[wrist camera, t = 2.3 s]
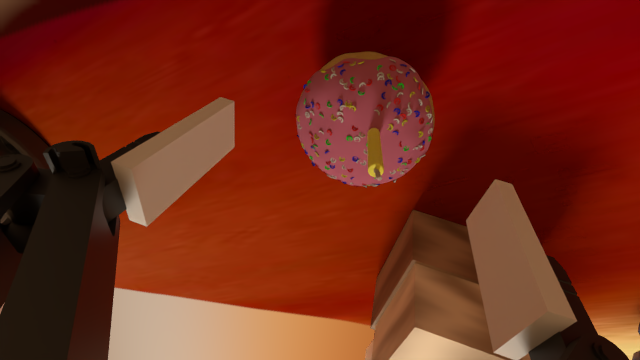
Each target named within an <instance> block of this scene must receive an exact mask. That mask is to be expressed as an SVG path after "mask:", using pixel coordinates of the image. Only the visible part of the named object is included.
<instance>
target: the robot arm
mask: <svg viewBox="0 0 640 360" xmlns="http://www.w3.org/2000/svg"><path fill="white" fill-rule="evenodd" d="M233 148H234V101H232V100H228V99H225V98H221V97H220V98H218V99H217V100H215V101H213V102H212V103H210V104H208V105H207V106H205V107H203V108H202V109H200V110H198V111H196V112H195V113H193V114H191V115H190V116H188V117H186V118H185V119H183V120H181V121H180V122H178V123H176V124H174V125H173V126H171V127H169V128H168V129H166V130H164V131H163V132H154V133H151V134H147V135H144V136H142V137H141V138H139V139H137V140H135V142H132V143H130V144H128V145H126V147H123V148H121V149H119V150H118V151H116V152H114V153H112V154H111V155H109V156H107V157H105V158H103V159H102V160H100V161H99V159H98V156H97V153H96V150H95V147H94V145H92V144H91V143H89V142H85V141H66V142H61V143H58V144H54V145H52V146H50V147H48V146H47V145H46V143H45V142H44V141H43V140H42V139H41V138H40V137H38V136H37V135H36V134H35V133H34V132H33V131H32V130H30V129H29V128H28V127H27V126H25V125H24V124H23V123H21V122H20V121H19V120H17V119H16V118H14V117H13V116H11V115H9V114H7V113H6V112H4V111H2V110H0V308H1V307H2V305H3V304H4V302H5V304H4V306H3V309H2V311H1V314H0V360H108V350H109V340H110V329H111V317H112V307H113V296H114V285H115V274H116V263H117V252H118V241H119V230H120V219H119V216H118V215H119V214H121V213H122V212H123V211H124V210H127V214H128V217H129V220H131V221H133V222H136V223H139V224H142V225H144V226H148V225H149V224H150V223H151V222H153V221H154V220H155V219H156V218H157V217H158V216H159V215H160V214H161V213H162V212H164V211H165V210H166V209H167V208H168V207H169V206H170V205H171V204H172V203H173V202H175V201H176V200H177V199H178V198H179V197H180V196H181V195H182V194H183V193H184V192H186V191H187V190H188V189H189V188H190V187H191V186H192V185H193V184H194V183H195V182H197V181H198V180H199V179H200V178H201V177H202V176H203V175H204V174H205V173H206V172H208V171H209V170H210V169H211V168H212V167H213V166H214V165H215V164H216V163H217V162H219V161H220V160H221V159H222V158H223V157H224V156H225V155H226V154H227V153H228V152H230V151H231V150H232V149H233ZM466 224H467V228H468V233H469V238H470V243H471V248H472V252H473V257H474V262H475V267H476V272H477V276H478V281H479V286H480V291H481V295H482V300H483V305H484V310H485V315H486V319H487V324H488V329H489V334H490V339H491V343H492V348H493V352H494V353H496V354H499V355H502V356H505V357H507V358H510V359H513V360H519V359H521V358H522V357H524V356H525V355H527V354H528V353H529V356H530V359H531V360H629V359H628V357H627V356H626V355H625V353H623V352H622V351H621V350H620V349H619V348H618V347H617V346H616V345H615V344H613V343H612V342H610V341H609V340H607V339H606V338H605V337H602V336H600V335H598V333H597V331H596V330H595V328H594V326H593V324H592V322H591V320H590V318H589V316H588V314H587V312H586V310H585V308H584V306H583V304H582V302H581V300H580V299H579V297H578V296H577V293H576V291H575V289H574V287H573V286H572V285H571V281H570V279H569V277H568V275H567V273H566V271H565V270H564V269H563V268H562V267H561V265H560V264H559V263H558V262H557V261H556V260H555V259H554V258H553V257H550V256H547V255H546V254H545V252H544V250H543V248H542V246H541V244H540V242H539V240H538V238H537V235H536V233H535V231H534V229H533V227H532V225H531V223H530V221H529V219H528V217H527V214H526V212H525V210H524V208H523V206H522V204H521V202H520V200H519V198H518V195H517V193H516V191H515V189H514V187H513V185H512V184H510V183H507V182H503V181H500V180H497V179H495V180H494V181H493V183H492V184H491V186H490V187H489V188H488V190H487V191H486V193H485V194H484V196H483V197H482V198H481V200H480V201H479V203H478V204H477V205H476V207H475V208H474V210H473V211H472V213H471V214H470V215H469V217H468V218H467V220H466Z"/></svg>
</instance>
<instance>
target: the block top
mask: <svg viewBox="0 0 640 360" xmlns="http://www.w3.org/2000/svg"><path fill="white" fill-rule="evenodd" d="M372 360H513V359H510V358H507V357H505V356H502V355H499V354H496V353H494V352H493V348H492V343H491V339H490V334H489V329H488V324H487V319H486V315H485V310H484V305H483V300H482V295H481V291H480V286H479V284H476V283H473V282H470V281H467V280H464V279H461V278H458V277H455V276H452V275H449V274H446V273H443V272H440V271H437V270H434V269H431V268H428V267H425V266H422V265H419V264H416V263H415V264H414V265H413V267H412V268H411V270H410V272H409V273H408V275H407V276H406V278H405V280H404V281H403V283H402V284H401V286H400V288H399V289H398V291H397V292H396V294H395V295H394V297H393V299H392V300H391V302H390V303H389V305H388V307H387V308H386V310H385V311H384V313H383V315H382V316H381V318H380V319H379V321H378V322H377V324H376V326H375V333H374V342H373V351H372ZM519 360H531V359H530V356H529V353H528V354H527V355H525V356H524V357H522V358H521V359H519Z"/></svg>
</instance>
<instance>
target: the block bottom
mask: <svg viewBox="0 0 640 360" xmlns="http://www.w3.org/2000/svg"><path fill="white" fill-rule="evenodd" d="M415 263H416V264H419V265H422V266H425V267H428V268H431V269H434V270H437V271H440V272H443V273H446V274H449V275H452V276H455V277H458V278H461V279H464V280H467V281H470V282H473V283H476V284H479V281H478V276H477V272H476V267H475V262H474V257H473V252H472V248H471V243H470V238H469V233H468V228H467V226H463V225H460V224H457V223H454V222H451V221H448V220H444V219H441V218H438V217H435V216H432V215H429V214H425V213H422V212H419V211H416V210H413V211H412V212H411V214H410V216H409V218H408V220H407V222H406V224H405V226H404V228H403V230H402V231H401V233H400V235H399V237H398V239H397V241H396V243H395V245H394V247H393V249H392V251H391V252H390V254H389V256H388V258H387V260H386V262H385V264H384V266H383V268H382V270H381V271H380V273H379V275H378V277H377V280H376V288H375V296H374V304H373V312H372V320H371V329H374V330H375V326H376V324H377V322H378V321H379V319H380V318H381V316H382V315H383V313H384V311H385V310H386V308H387V307H388V305H389V303H390V302H391V300H392V299H393V297H394V295H395V294H396V292H397V291H398V289H399V288H400V286H401V284H402V283H403V281H404V280H405V278H406V276H407V275H408V273H409V272H410V270H411V268H412V267H413V265H414V264H415Z"/></svg>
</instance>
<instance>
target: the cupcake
mask: <svg viewBox="0 0 640 360" xmlns="http://www.w3.org/2000/svg"><path fill="white" fill-rule="evenodd" d="M295 117H296V119H297V130H298V135H299V136H298V135H297V136H298V137H299V139H300V141H301V145H302V148H304V149H305V153H306V154H308V156H309V157H310V159H311V160H312V165H313V166H315V165H316V167H319V168H320V169H321V170H322V171H323V172H324V173H326V174H327V176H329V177H331V178H333V179H337V180H338V181H341V182H343V183H344V184H346V183H347V184H349V185H352V186H356V187H358V186H364V187H366V188H367V186H372V185H373V186H378V185H380V184H382V183H386V182H389V181H392V180H393V182H396V179H397V178H399V177H401V176H403V175H405V174H407V172H408V171H409V170H410V169H411V168H412V167H414V166H415V165H416V164H417V163H418V162H419V161H420V159H421V158H422V157H424V156H425V155H424V154H425V153H426V151H427V150H428V148H429V145H430V142H431V138H432V136H433V129H434V107H433V101H432V97H431V94H430V92H429V90H428V88H427V87H426V85H425V84H424V82H423V81H422V80H421V78H420V77H419V75H418V73H417V72H416V70H415V69H414V68H413V67H411V66H410V65H409V64H408V63H406V62H404V61H403V60H401V59H399V58H396V57H391V56H386V55H383V54H380V53H377V52H359V53H347V54H343V55H340V56H338V57H336V58H334V59H333V60H331V61H330V62H329V63H327V64H326V65H325V66H324V67H323V68H322V69H321V70H320V71H317V72H316V73H315V74H314V75H313V76H312V77H311V78H310V80H309V81H308V82H307V84H305V85H304V90H303V92H302V94H301V97H300V100H299V102H298V105H297V110H296V114H295ZM313 162H314V163H313ZM366 185H367V186H366Z"/></svg>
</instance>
